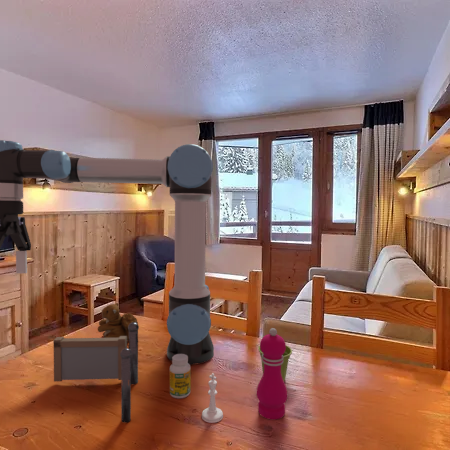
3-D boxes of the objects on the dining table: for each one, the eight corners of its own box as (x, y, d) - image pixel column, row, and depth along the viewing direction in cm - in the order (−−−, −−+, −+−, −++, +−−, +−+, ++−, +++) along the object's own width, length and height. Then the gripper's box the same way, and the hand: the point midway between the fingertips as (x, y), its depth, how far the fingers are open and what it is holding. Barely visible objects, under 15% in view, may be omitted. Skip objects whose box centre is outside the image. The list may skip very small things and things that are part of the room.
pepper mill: (286, 423, 76) (288, 335, 75) (254, 418, 77) (256, 332, 76) (287, 404, 83) (289, 324, 82) (257, 401, 84) (259, 322, 83)
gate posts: (144, 379, 94) (144, 320, 93) (130, 423, 75) (130, 349, 74) (129, 379, 94) (129, 320, 93) (111, 423, 74) (110, 350, 74)
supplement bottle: (186, 386, 91) (187, 351, 90) (193, 396, 86) (193, 359, 85) (167, 390, 88) (167, 354, 88) (172, 401, 84) (173, 363, 83)
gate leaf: (127, 375, 93) (127, 336, 93) (125, 379, 91) (125, 339, 90) (57, 377, 92) (57, 336, 91) (53, 381, 90) (53, 340, 89)
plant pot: (294, 375, 97) (295, 346, 97) (286, 391, 89) (287, 359, 88) (263, 368, 101) (264, 340, 101) (252, 383, 93) (253, 352, 92)
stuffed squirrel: (101, 335, 126) (101, 300, 125) (140, 334, 127) (140, 299, 126) (94, 346, 116) (94, 308, 115) (136, 345, 117) (136, 307, 116)
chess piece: (215, 425, 74) (215, 381, 74) (197, 418, 77) (197, 375, 77) (227, 414, 79) (227, 372, 78) (209, 407, 81) (210, 366, 81)
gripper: (17, 200, 103) (18, 269, 104) (-41, 198, 78) (-39, 289, 79) (43, 200, 104) (43, 269, 105) (-7, 198, 79) (-5, 288, 80)
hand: (8, 278), depth 92 cm, fingers open, 13 cm apart
